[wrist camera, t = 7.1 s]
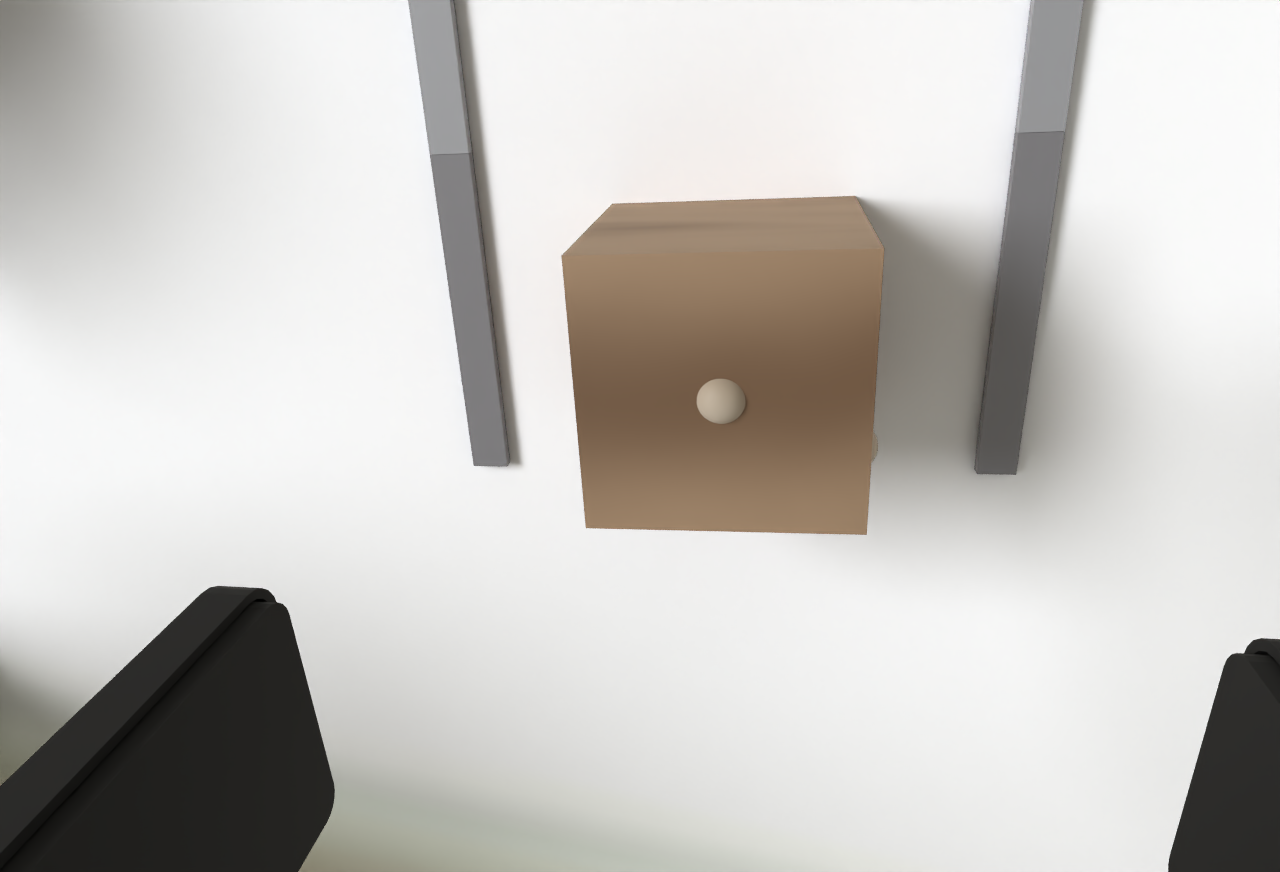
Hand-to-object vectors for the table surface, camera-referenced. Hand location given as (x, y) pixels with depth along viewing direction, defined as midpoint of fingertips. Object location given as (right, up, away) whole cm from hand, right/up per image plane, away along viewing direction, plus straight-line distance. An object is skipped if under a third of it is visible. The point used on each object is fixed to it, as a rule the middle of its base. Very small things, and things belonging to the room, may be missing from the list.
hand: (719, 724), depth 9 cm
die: (+2, +6, +14) cm, 15 cm away
